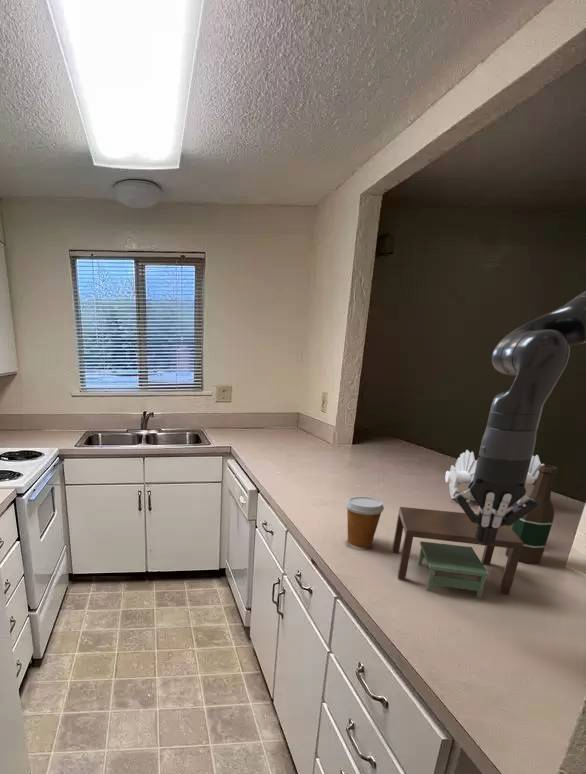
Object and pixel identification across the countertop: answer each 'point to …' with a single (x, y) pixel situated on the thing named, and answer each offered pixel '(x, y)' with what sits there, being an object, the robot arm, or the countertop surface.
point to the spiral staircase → (467, 470)
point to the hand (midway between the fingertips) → (483, 543)
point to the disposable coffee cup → (363, 519)
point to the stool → (453, 566)
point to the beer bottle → (537, 518)
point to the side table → (452, 537)
